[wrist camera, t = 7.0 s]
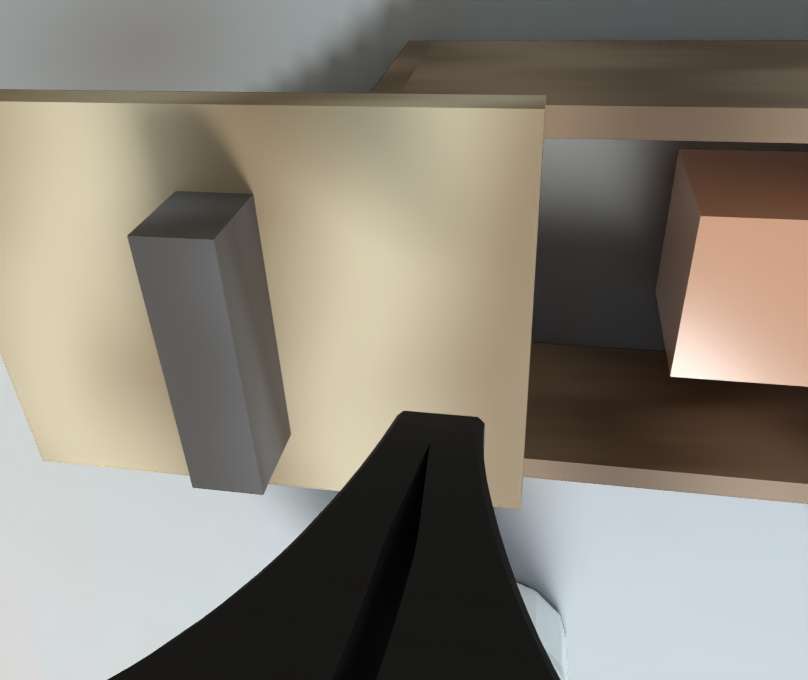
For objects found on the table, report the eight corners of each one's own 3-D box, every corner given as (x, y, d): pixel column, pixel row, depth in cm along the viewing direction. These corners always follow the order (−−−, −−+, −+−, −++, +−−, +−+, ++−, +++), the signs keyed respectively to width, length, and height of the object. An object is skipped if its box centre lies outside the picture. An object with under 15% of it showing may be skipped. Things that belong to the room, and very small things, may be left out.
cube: (856, 152, 18) (919, 224, 15) (812, 299, 20) (858, 390, 17) (678, 147, 19) (700, 216, 16) (654, 290, 21) (670, 376, 18)
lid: (546, 95, 14) (540, 150, 11) (522, 485, 19) (515, 577, 16) (-73, 88, 16) (-183, 133, 13) (59, 440, 21) (-4, 516, 19)
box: (965, 40, 16) (1096, 112, 12) (848, 381, 21) (913, 513, 17) (409, 40, 18) (362, 102, 14) (420, 351, 23) (387, 464, 19)
